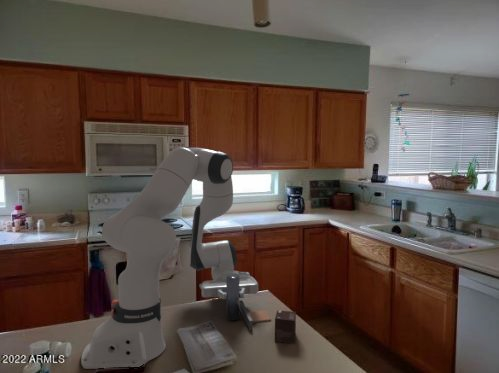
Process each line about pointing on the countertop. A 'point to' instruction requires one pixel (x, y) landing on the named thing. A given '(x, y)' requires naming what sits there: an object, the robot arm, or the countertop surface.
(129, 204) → the robot arm
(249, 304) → the countertop surface
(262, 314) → the coaster
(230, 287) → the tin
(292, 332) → the box
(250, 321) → the wall
